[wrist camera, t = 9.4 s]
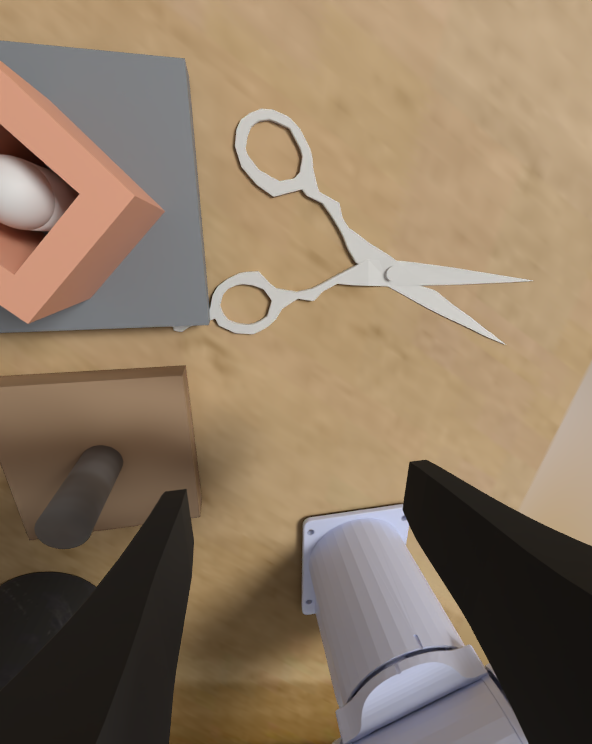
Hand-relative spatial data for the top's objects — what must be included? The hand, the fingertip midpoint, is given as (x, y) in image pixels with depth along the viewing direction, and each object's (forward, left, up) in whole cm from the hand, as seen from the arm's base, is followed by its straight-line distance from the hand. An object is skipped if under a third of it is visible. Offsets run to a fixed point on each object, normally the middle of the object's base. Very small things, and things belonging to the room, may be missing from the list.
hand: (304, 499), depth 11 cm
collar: (+9, +8, -8) cm, 14 cm away
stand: (-3, +9, -9) cm, 13 cm away
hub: (+9, +8, -9) cm, 15 cm away
